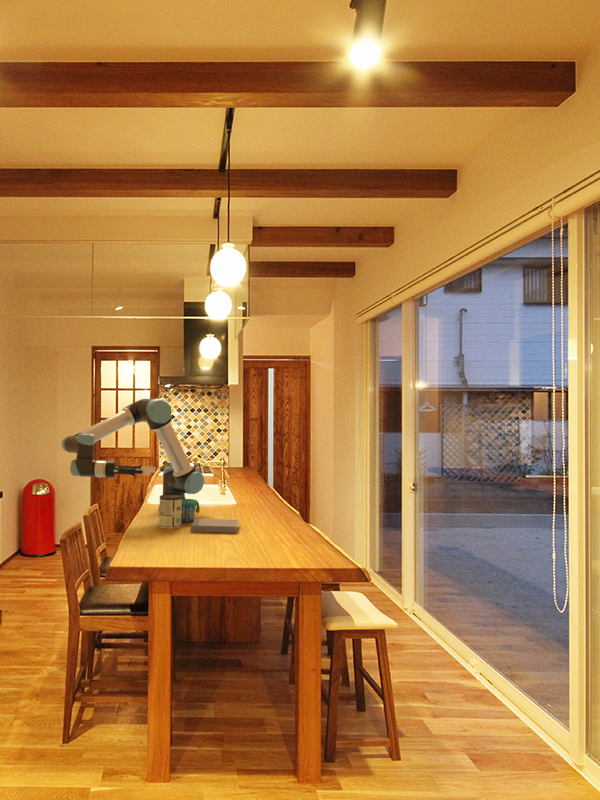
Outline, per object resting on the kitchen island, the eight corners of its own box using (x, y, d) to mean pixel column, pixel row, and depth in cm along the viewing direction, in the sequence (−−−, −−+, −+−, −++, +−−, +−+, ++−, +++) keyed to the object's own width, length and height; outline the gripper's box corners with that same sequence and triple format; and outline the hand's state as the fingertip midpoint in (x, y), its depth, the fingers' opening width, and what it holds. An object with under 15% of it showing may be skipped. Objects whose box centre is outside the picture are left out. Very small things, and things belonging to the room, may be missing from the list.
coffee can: (162, 524, 311) (163, 494, 311) (183, 525, 310) (185, 495, 310) (155, 528, 301) (156, 496, 301) (177, 529, 300) (178, 498, 300)
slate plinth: (195, 525, 312) (195, 518, 312) (238, 526, 312) (238, 519, 312) (190, 532, 294) (190, 525, 294) (236, 533, 294) (236, 526, 294)
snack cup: (192, 518, 331) (193, 497, 331) (205, 521, 323) (206, 500, 323) (165, 521, 320) (166, 499, 320) (178, 524, 312) (178, 502, 312)
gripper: (111, 474, 316) (156, 476, 318) (98, 479, 292) (147, 481, 293) (112, 459, 317) (157, 460, 318) (99, 462, 292) (148, 464, 293)
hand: (153, 470), depth 305 cm, fingers open, 13 cm apart
